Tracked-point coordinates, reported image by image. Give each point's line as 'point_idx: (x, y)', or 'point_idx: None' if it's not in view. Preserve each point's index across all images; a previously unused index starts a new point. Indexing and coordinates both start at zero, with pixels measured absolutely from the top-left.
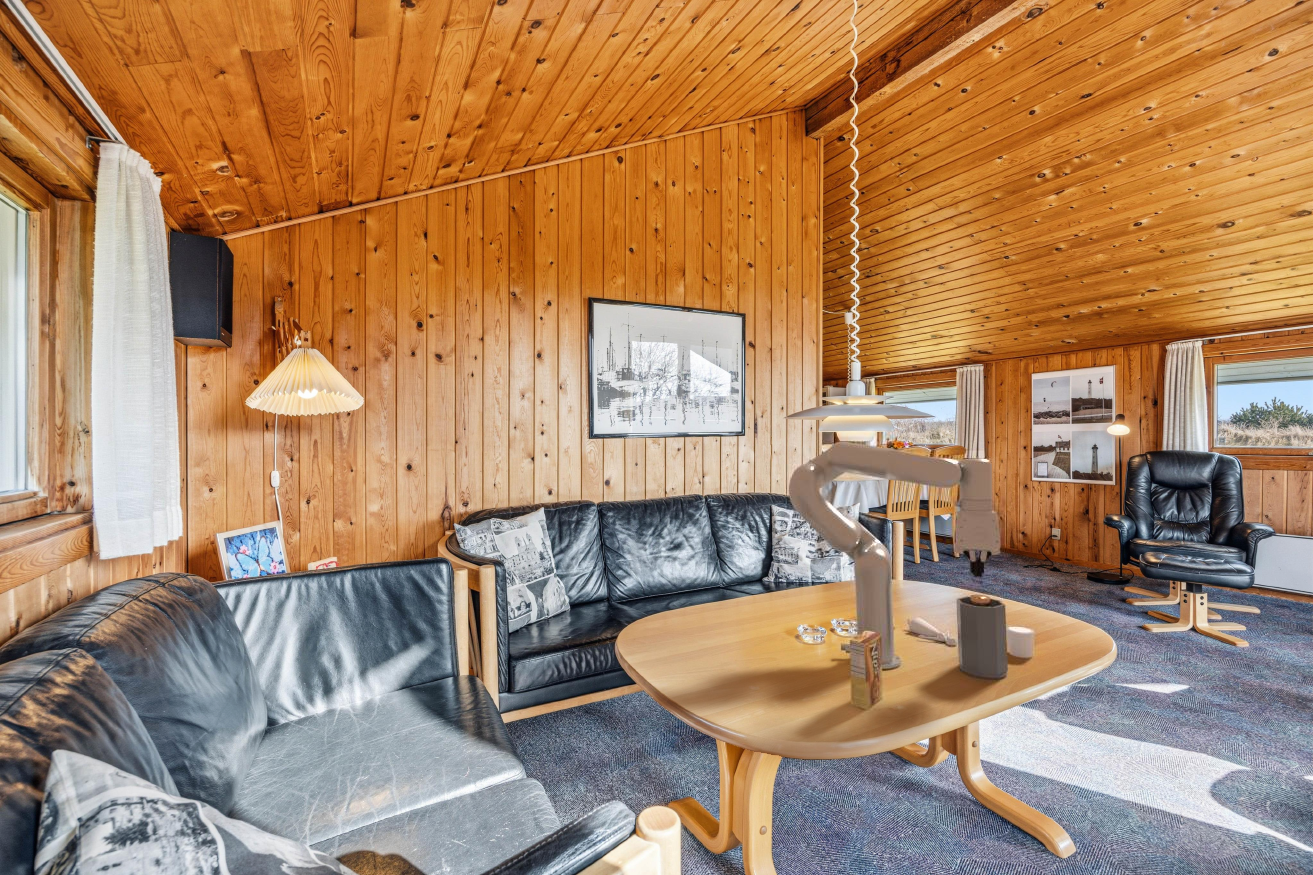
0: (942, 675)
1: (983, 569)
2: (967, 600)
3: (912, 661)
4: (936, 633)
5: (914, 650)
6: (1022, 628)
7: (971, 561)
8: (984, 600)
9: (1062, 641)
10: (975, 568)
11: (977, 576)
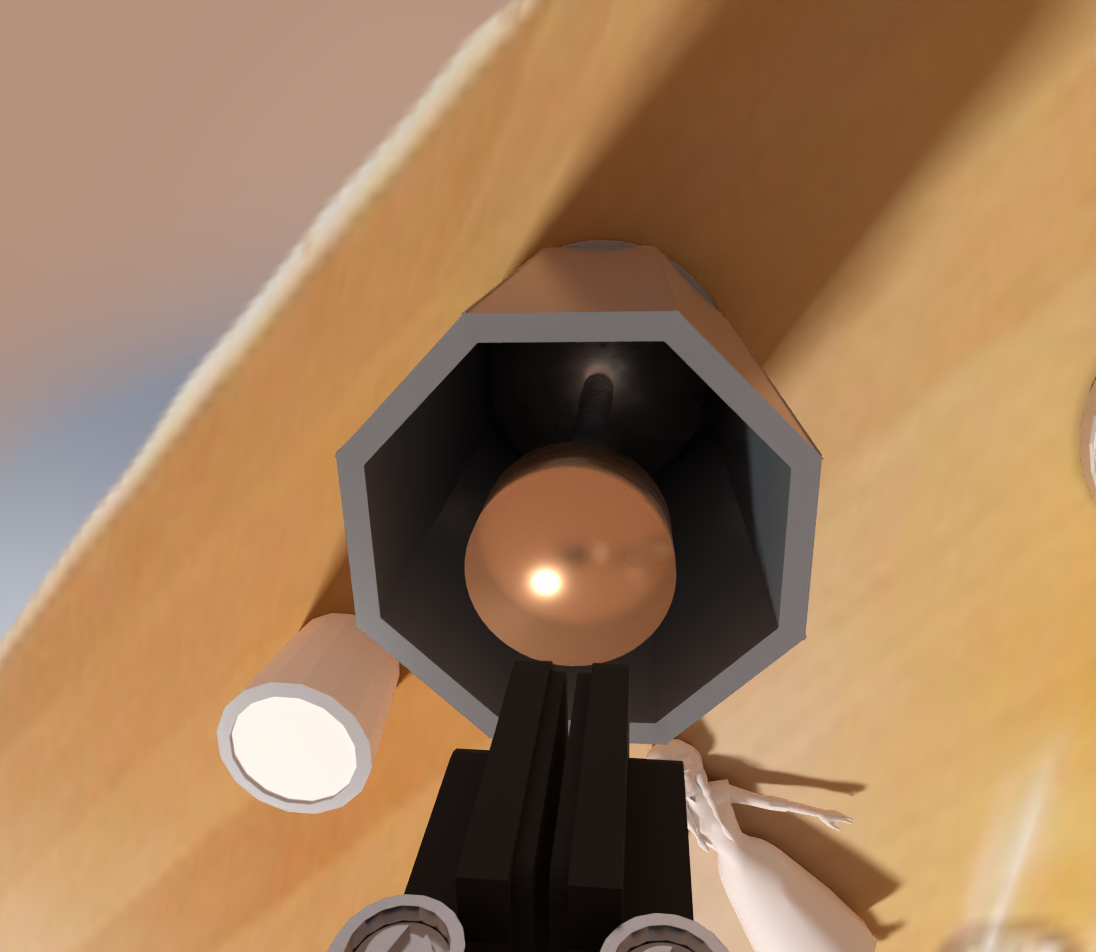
0: (867, 240)
1: (454, 785)
2: (664, 693)
3: (991, 450)
4: (743, 846)
5: (921, 635)
6: (276, 772)
7: (694, 947)
8: (543, 469)
9: (128, 854)
10: (622, 759)
11: (592, 664)
